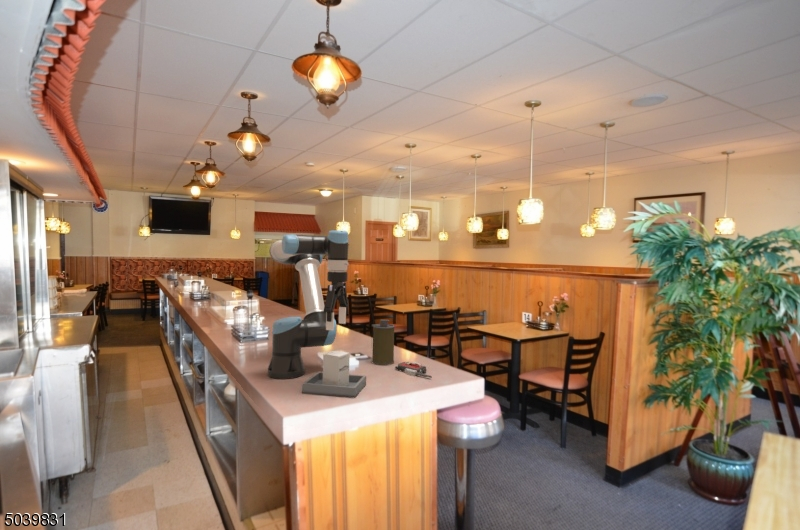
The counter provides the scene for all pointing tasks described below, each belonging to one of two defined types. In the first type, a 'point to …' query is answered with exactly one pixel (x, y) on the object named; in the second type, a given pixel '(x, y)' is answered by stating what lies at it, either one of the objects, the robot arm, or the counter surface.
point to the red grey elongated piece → (412, 368)
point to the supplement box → (336, 368)
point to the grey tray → (334, 386)
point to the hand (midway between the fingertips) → (336, 326)
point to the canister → (383, 343)
